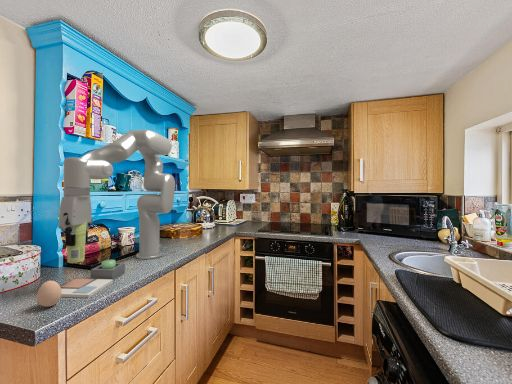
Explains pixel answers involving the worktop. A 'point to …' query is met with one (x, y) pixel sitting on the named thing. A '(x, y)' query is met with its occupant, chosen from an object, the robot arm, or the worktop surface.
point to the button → (108, 264)
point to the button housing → (108, 272)
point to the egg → (49, 294)
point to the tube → (77, 245)
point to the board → (83, 287)
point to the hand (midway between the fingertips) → (76, 243)
